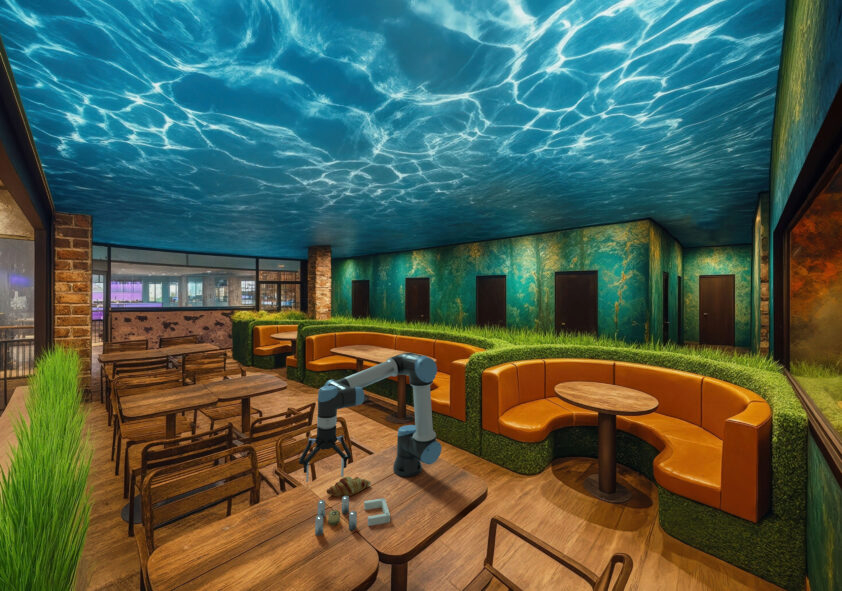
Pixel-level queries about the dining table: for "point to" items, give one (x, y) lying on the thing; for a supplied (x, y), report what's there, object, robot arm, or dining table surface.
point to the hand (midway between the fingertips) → (325, 477)
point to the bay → (381, 517)
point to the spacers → (344, 510)
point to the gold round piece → (334, 517)
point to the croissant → (348, 486)
